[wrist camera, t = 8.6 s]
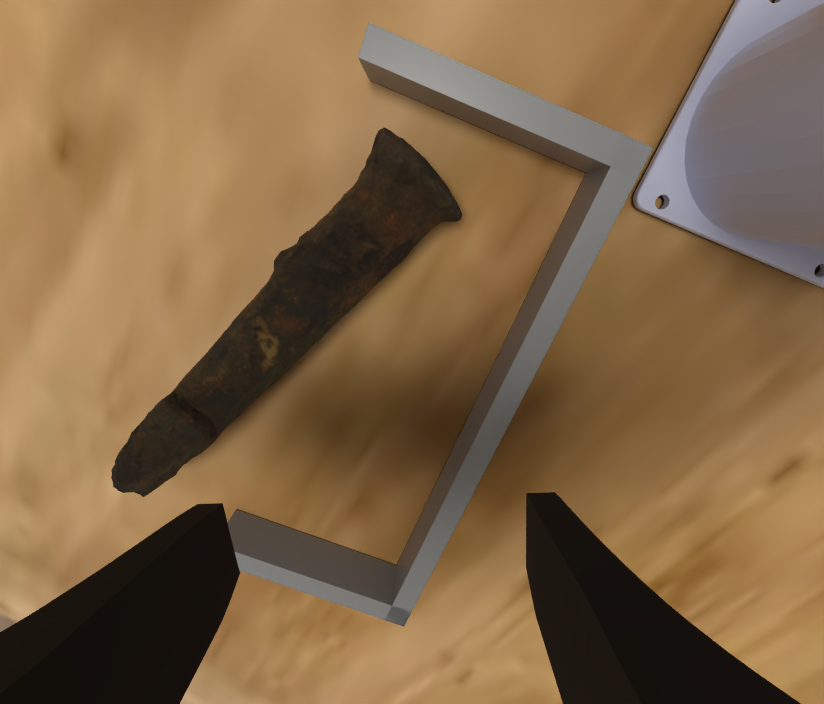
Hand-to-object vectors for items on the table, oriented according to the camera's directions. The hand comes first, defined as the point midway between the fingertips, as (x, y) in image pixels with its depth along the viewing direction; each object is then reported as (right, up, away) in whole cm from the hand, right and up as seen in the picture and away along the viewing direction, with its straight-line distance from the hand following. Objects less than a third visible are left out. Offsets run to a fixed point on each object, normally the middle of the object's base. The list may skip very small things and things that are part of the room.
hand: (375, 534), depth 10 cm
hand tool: (-5, +5, +10) cm, 12 cm away
